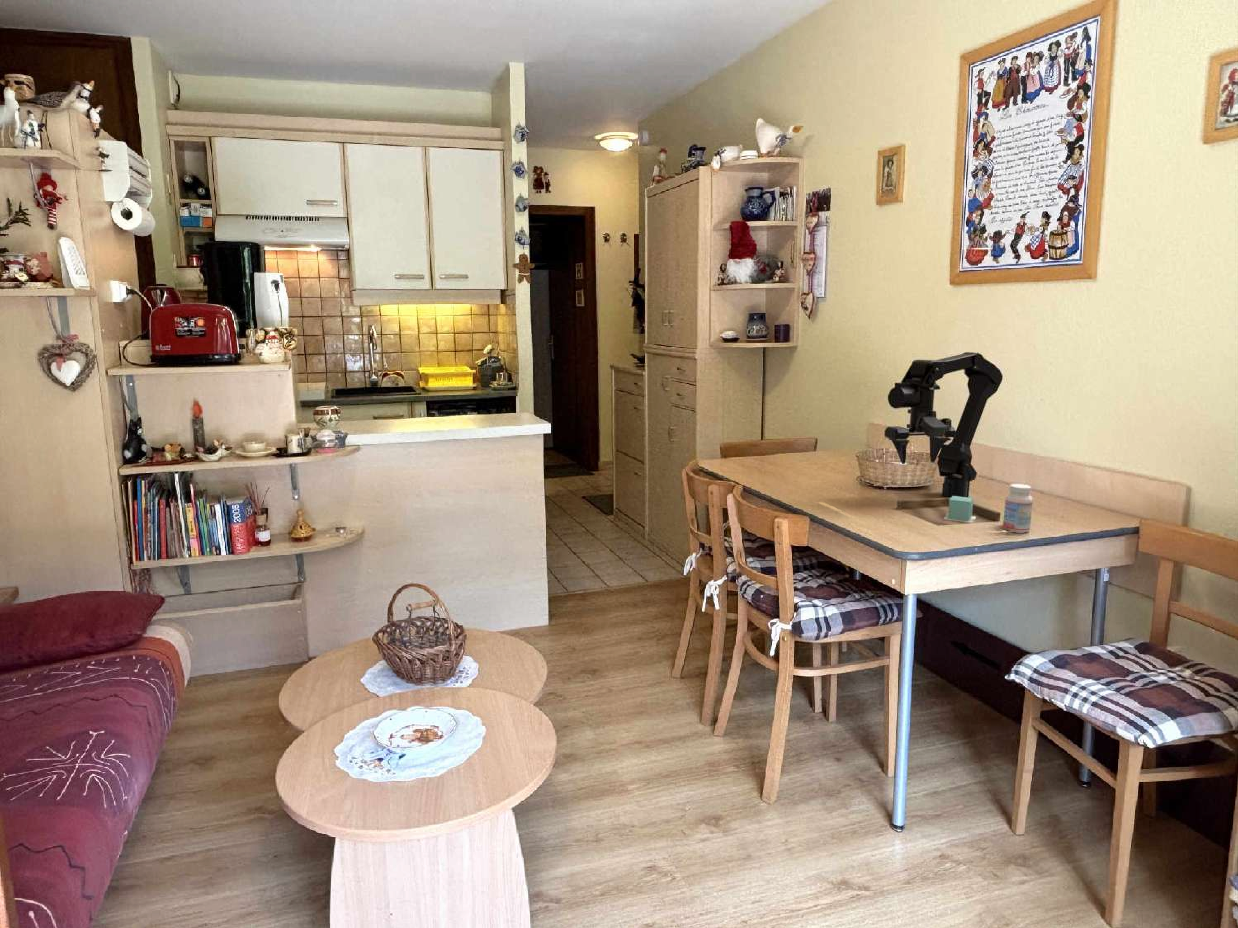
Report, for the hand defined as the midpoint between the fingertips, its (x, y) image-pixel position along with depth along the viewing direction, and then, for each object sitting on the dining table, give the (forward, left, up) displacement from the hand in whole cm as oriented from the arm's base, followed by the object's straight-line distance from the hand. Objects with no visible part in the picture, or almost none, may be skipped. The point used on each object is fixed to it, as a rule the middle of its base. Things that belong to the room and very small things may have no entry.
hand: (917, 463), depth 227 cm
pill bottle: (-9, +29, -12) cm, 33 cm away
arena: (0, +14, -12) cm, 18 cm away
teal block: (-1, +18, -11) cm, 21 cm away
